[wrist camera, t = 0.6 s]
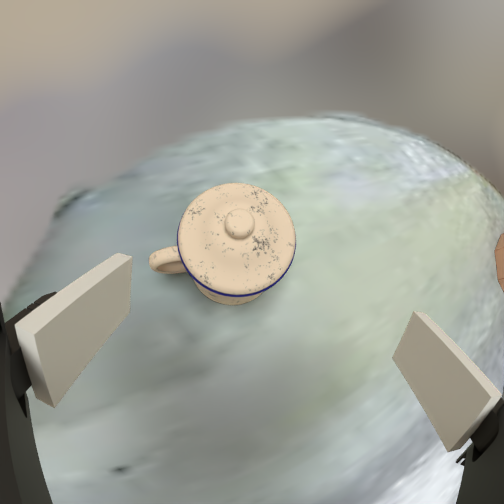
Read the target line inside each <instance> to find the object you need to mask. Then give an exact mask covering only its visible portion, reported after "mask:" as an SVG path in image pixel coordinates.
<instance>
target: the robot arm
mask: <svg viewBox="0 0 504 504" xmlns="http://www.w3.org/2000/svg"><path fill="white" fill-rule="evenodd" d="M132 258H133V257H132V256H128V255H124V254H120V253H116V254H115V255H113V256H112V257H110V258H109V259H107V260H105V261H104V262H102V263H101V264H99V265H98V266H96V267H95V268H93V269H92V270H90V271H89V272H87V273H86V274H84V275H83V276H81V277H80V278H78V279H77V280H75V281H74V282H72V283H71V284H69V285H68V286H67V287H65V288H64V289H62V290H61V291H59V292H58V293H57V292H53V293H50V294H47V295H44V296H42V297H41V298H39V299H38V300H36V301H35V302H34V304H33V303H32V304H31V305H29V306H28V307H27V309H26V308H25V309H24V310H22V311H21V312H19V313H18V314H17V315H15V316H14V317H13V318H11V319H10V320H9V321H7V322H6V323H5V322H4V318H3V313H2V308H1V303H0V504H53V503H52V500H51V497H50V494H49V491H48V488H47V485H46V482H45V479H44V475H43V472H42V468H41V464H40V461H39V457H38V452H37V448H36V444H35V439H34V434H33V428H32V422H31V416H30V409H29V402H28V397H27V394H26V391H27V390H28V388H29V387H30V386H31V385H32V388H33V391H34V393H35V396H36V398H37V399H39V400H40V401H42V402H44V403H46V404H48V405H50V406H51V407H53V408H55V407H56V406H57V404H58V403H59V402H60V400H61V399H62V398H63V396H64V395H65V394H66V392H67V391H68V390H69V388H70V387H71V386H72V384H73V383H74V382H75V380H76V379H77V378H78V376H79V375H80V374H81V372H82V371H83V370H84V369H85V367H86V366H87V365H88V363H89V362H90V361H91V360H92V358H93V357H94V356H95V355H96V353H97V352H98V351H99V349H100V348H101V347H102V346H103V344H104V343H105V342H106V341H107V340H108V338H109V337H110V336H111V335H112V333H113V332H114V331H115V330H116V329H117V327H118V326H119V325H120V324H121V322H122V321H123V320H124V319H125V318H126V316H127V315H128V314H129V313H130V294H131V273H132ZM392 359H393V360H394V362H395V363H396V365H397V366H398V368H399V370H400V371H401V373H402V374H403V376H404V378H405V379H406V381H407V382H408V384H409V386H410V387H411V389H412V391H413V392H414V394H415V396H416V397H417V399H418V401H419V402H420V404H421V406H422V407H423V409H424V411H425V412H426V414H427V416H428V418H429V419H430V421H431V423H432V425H433V426H434V428H435V430H436V432H437V433H438V435H439V437H440V439H441V441H442V442H443V444H444V446H445V448H446V450H447V452H451V451H454V450H458V449H460V448H461V447H462V446H463V445H464V444H465V443H466V442H467V441H468V439H469V438H471V440H472V444H471V445H470V446H469V447H468V448H467V449H466V450H465V451H464V452H463V454H462V455H461V456H460V457H459V458H458V459H457V461H456V463H458V462H459V461H460V460H461V459H462V458H466V459H465V460H464V461H463V462H462V463H461V465H463V466H464V471H463V476H462V481H461V486H460V490H459V494H458V498H457V502H456V504H504V400H503V399H502V398H501V396H502V394H501V393H500V392H499V391H498V389H497V388H496V387H495V386H494V385H493V384H492V382H491V381H490V380H489V379H488V378H487V377H486V376H485V375H484V373H483V372H482V371H481V370H480V369H479V368H478V367H477V366H476V365H475V364H474V363H473V361H472V360H471V359H470V358H469V357H468V356H467V355H466V354H465V353H464V352H463V351H462V350H461V349H460V348H459V347H458V346H457V345H456V344H455V343H454V341H453V340H452V339H451V338H450V337H449V336H448V335H447V334H446V333H445V332H444V331H443V330H442V329H441V328H440V327H439V326H438V325H437V324H436V323H435V322H434V321H433V320H432V319H431V318H429V317H428V316H427V315H426V314H425V313H422V312H416V311H413V314H412V316H411V318H410V321H409V323H408V325H407V327H406V330H405V332H404V334H403V336H402V338H401V341H400V343H399V345H398V347H397V349H396V351H395V353H394V355H393V357H392Z"/></svg>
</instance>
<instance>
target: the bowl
mask: <svg viewBox="0 0 504 504" xmlns="http://www.w3.org/2000/svg"><path fill="white" fill-rule="evenodd" d="M495 257H496V266H497V275H498V281H499V283H500V285H501V287H502V289H503V291H504V234H502V235H501V236H500V239H499V241H498V244H497V246H496V249H495Z"/></svg>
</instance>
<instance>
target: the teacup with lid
mask: <svg viewBox="0 0 504 504" xmlns="http://www.w3.org/2000/svg"><path fill="white" fill-rule="evenodd" d="M295 249H296V235H295V229H294V225H293V222H292V219H291V217H290V215H289V213H288V212H287V210H286V209H285V207H284V206H283V205H282V203H281V202H280V201H279V200H278V199H277V198H275V197H274V196H273V195H272V194H270V193H269V192H267V191H265V190H263V189H261V188H259V187H256V186H253V185H249V184H243V183H228V184H222V185H219V186H215V187H213V188H210V189H208V190H206V191H205V192H203V193H202V194H200V195H199V196H198V197H197V198H195V199H194V200H193V201H192V203H191V204H190V205H189V206H188V208H187V209H186V211H185V212H184V214H183V216H182V218H181V221H180V223H179V227H178V233H177V246H172V247H167V248H163V249H160V250H157V251H155V252H154V253H152V254H151V255H150V257H149V264H150V267H151V269H152V270H154V271H156V272H159V273H166V274H174V273H183V272H188V273H189V275H190V276H191V277H192V278H193V280H194V282H195V284H196V286H197V287H198V288H199V290H200V291H201V292H202V293H203V294H204V295H205V296H207V297H208V298H210V299H211V300H213V301H215V302H218V303H221V304H226V305H239V304H244V303H247V302H250V301H252V300H254V299H255V298H257V297H258V296H259V295H261V294H262V293H263V292H264V291H266V290H267V289H269V288H271V287H272V286H274V285H275V284H276V283H277V282H278V281H279V280H280V279H281V278H282V277H283V276H284V275H285V273H286V272H287V271H288V269H289V267H290V265H291V263H292V261H293V258H294V254H295Z"/></svg>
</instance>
